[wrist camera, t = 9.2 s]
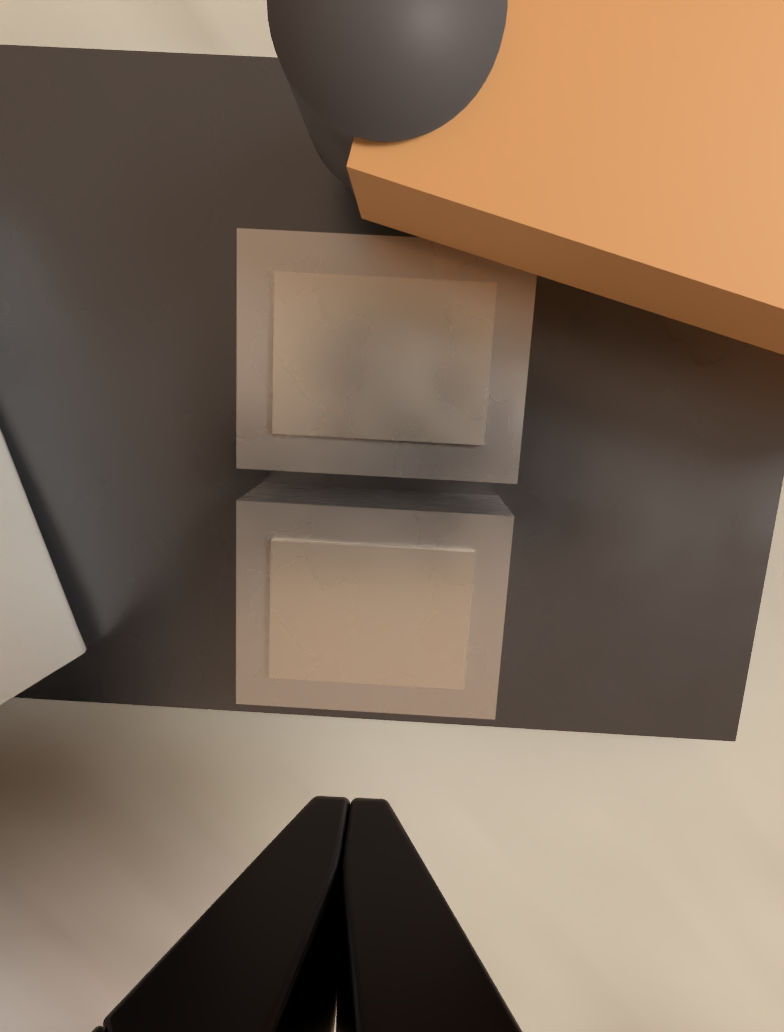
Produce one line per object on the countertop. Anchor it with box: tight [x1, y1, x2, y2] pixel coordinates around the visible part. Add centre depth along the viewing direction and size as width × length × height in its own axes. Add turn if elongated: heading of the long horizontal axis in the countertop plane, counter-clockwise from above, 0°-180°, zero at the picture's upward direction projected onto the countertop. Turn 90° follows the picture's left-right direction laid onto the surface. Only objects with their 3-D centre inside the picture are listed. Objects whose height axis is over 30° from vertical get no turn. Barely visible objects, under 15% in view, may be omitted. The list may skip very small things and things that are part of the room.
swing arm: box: [267, 0, 784, 355], centre depth 10 cm, size 16×4×3 cm, turn 73°
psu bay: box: [0, 45, 784, 741], centre depth 15 cm, size 16×20×4 cm
